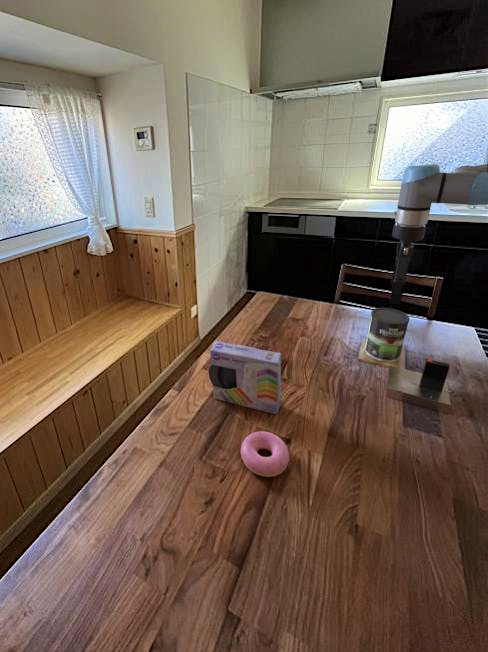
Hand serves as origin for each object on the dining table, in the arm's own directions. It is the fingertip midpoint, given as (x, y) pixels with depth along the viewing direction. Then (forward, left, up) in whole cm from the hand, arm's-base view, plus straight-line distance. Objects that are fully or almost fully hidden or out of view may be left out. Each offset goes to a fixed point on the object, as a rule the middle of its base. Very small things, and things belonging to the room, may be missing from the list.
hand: (395, 293), depth 101 cm
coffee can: (0, 0, -22) cm, 22 cm away
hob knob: (-12, +15, -19) cm, 27 cm away
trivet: (0, 0, -22) cm, 22 cm away
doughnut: (+21, +55, -22) cm, 63 cm away
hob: (-9, +15, -22) cm, 28 cm away
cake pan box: (+32, +40, -22) cm, 56 cm away
